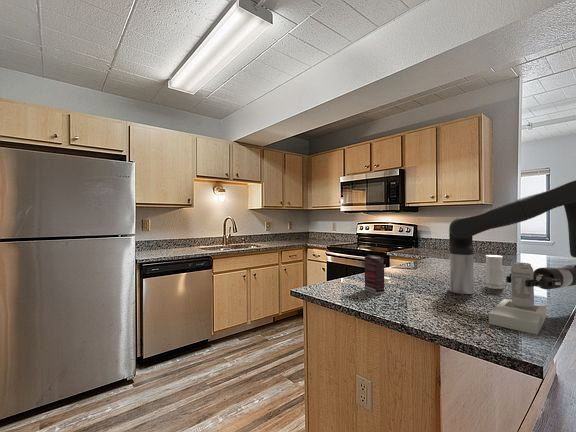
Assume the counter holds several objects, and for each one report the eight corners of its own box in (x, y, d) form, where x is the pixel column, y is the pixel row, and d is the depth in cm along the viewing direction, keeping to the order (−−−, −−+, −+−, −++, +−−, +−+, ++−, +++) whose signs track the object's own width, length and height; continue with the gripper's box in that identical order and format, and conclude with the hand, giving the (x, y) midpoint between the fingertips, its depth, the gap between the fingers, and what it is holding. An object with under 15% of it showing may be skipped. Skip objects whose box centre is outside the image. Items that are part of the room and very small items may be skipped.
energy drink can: (537, 307, 100) (536, 263, 100) (529, 311, 97) (528, 265, 97) (516, 303, 105) (515, 261, 105) (508, 306, 102) (507, 263, 102)
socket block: (488, 323, 95) (488, 312, 94) (504, 308, 110) (504, 298, 110) (537, 334, 86) (537, 322, 86) (546, 316, 101) (546, 306, 101)
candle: (481, 286, 143) (481, 255, 143) (493, 285, 144) (493, 254, 144) (494, 289, 136) (494, 257, 136) (506, 288, 138) (506, 256, 138)
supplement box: (385, 293, 131) (384, 257, 131) (376, 294, 129) (376, 258, 129) (372, 288, 139) (372, 255, 139) (364, 289, 137) (363, 256, 137)
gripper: (530, 263, 112) (496, 267, 107) (576, 270, 98) (539, 274, 93) (531, 283, 112) (496, 287, 107) (576, 293, 98) (539, 298, 93)
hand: (516, 281), depth 100 cm, fingers closed on energy drink can, 6 cm apart
